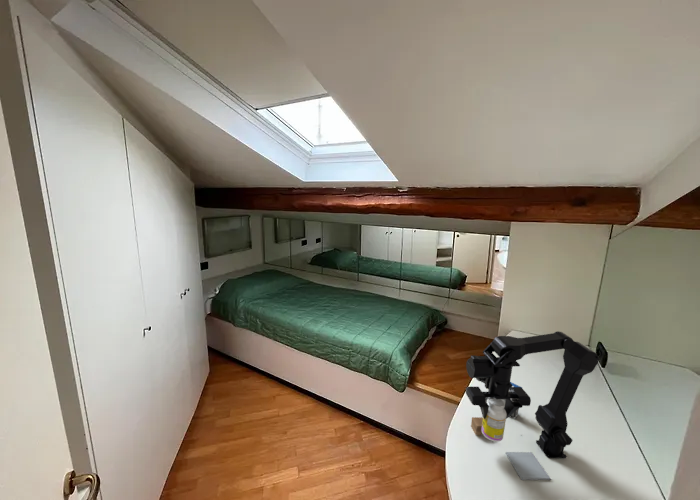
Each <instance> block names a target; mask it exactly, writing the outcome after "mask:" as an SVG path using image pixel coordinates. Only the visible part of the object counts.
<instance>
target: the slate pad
mask: <svg viewBox="0 0 700 500" xmlns="http://www.w3.org/2000/svg"><path fill="white" fill-rule="evenodd" d="M505 455H506V457H507V458H508V460H509V462H510V463H511V465H512V466H513V468H514V470H515V472H516V474H517V475H518V476H519V478H520V480H523V481H530V480H531V481H551V477H550V475H549V473H547V471H546V470H545V468H544V467H543V466H542V464H541V462H540V461H539V460H538V458H537V457H536V455H535V454H534V453H533V452H532V451H505Z"/></svg>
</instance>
